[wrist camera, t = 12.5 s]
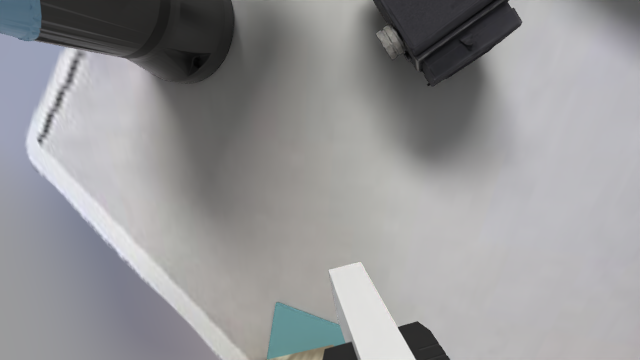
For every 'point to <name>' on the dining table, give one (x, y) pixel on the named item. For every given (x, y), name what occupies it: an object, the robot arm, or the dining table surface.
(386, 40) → the camera
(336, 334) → the mat
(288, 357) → the light brown rectangular block
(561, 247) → the dining table surface
